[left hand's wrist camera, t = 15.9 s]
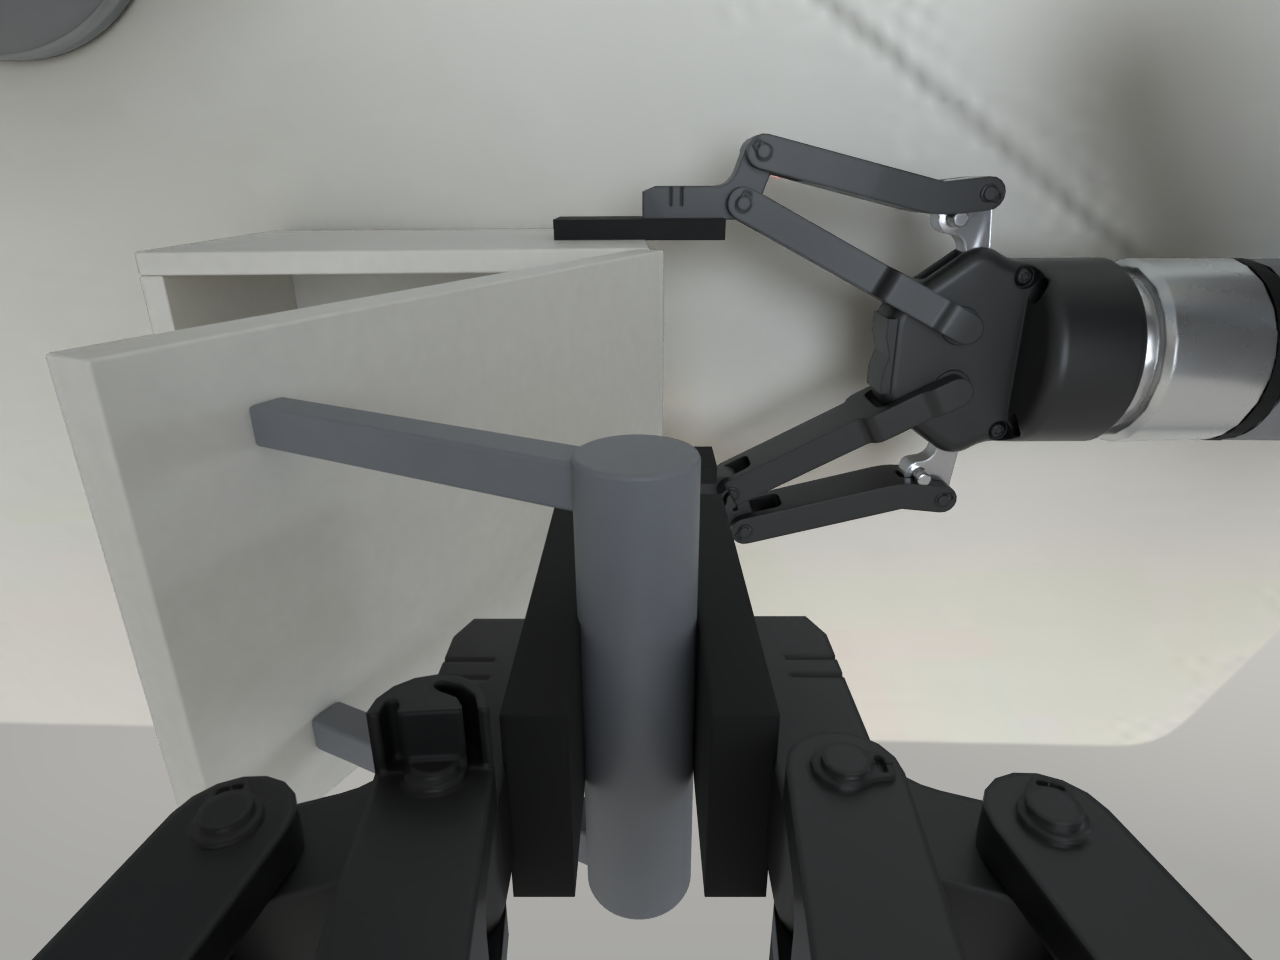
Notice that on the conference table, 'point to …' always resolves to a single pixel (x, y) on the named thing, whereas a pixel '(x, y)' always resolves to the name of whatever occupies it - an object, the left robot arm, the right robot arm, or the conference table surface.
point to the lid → (404, 529)
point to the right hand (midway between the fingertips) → (562, 353)
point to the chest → (334, 268)
